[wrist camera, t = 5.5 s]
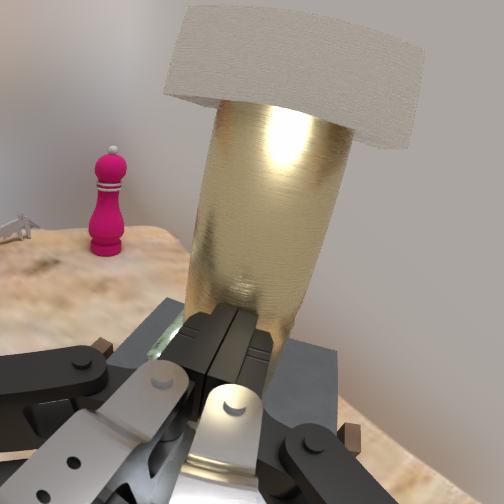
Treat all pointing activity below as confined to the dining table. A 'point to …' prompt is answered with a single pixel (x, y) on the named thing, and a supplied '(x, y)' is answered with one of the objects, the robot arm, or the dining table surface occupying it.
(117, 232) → the pepper mill
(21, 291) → the dining table surface
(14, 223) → the caliper
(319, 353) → the brushed metal stamp
